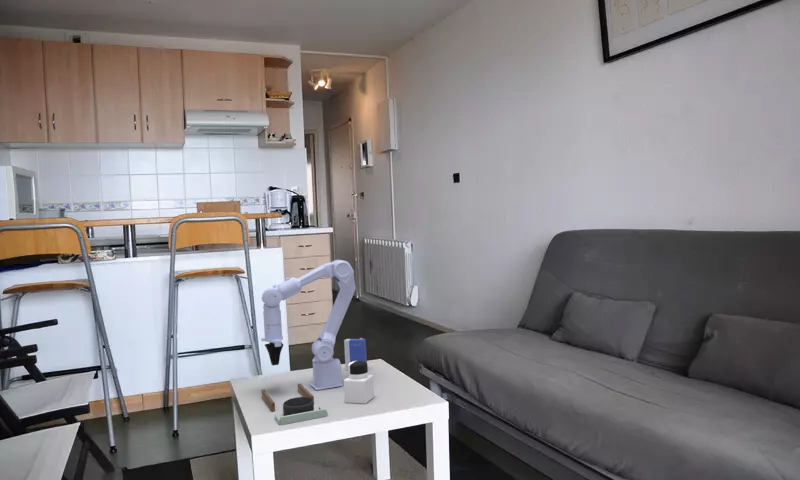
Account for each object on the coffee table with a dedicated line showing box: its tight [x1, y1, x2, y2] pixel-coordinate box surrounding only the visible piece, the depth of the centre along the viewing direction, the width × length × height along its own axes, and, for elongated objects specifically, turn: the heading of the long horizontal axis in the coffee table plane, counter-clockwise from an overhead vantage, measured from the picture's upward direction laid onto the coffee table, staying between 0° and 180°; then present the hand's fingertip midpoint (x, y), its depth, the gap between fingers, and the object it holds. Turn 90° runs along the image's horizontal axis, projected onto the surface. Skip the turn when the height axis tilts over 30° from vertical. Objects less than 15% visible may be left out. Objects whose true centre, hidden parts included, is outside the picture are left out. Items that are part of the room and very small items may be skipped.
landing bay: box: [274, 405, 329, 426], centre depth 162 cm, size 14×6×2 cm, turn 114°
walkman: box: [343, 337, 368, 372], centre depth 214 cm, size 8×3×12 cm, turn 77°
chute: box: [260, 383, 315, 412], centre depth 179 cm, size 13×17×2 cm
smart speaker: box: [282, 396, 315, 416], centre depth 165 cm, size 9×9×4 cm
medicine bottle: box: [343, 361, 375, 404], centre depth 176 cm, size 7×7×12 cm
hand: (275, 364), depth 189 cm, fingers closed
